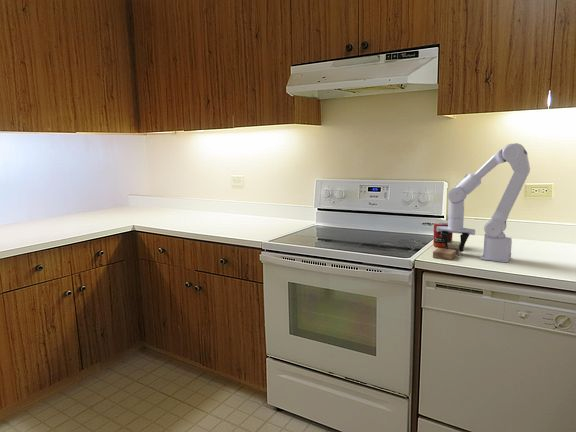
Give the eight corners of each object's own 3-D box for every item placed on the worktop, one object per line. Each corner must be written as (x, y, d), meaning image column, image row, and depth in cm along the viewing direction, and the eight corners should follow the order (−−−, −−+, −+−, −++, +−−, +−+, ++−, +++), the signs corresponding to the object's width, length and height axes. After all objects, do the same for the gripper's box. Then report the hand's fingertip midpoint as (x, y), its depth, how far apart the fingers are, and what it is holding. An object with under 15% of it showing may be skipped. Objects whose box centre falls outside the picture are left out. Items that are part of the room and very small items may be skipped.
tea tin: (461, 253, 170) (462, 241, 169) (458, 256, 166) (459, 244, 165) (450, 251, 173) (450, 240, 172) (446, 254, 169) (447, 242, 168)
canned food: (431, 247, 180) (432, 222, 178) (434, 243, 187) (435, 219, 185) (450, 249, 176) (451, 223, 175) (453, 245, 183) (454, 220, 182)
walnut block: (456, 256, 166) (456, 250, 165) (451, 260, 160) (451, 254, 160) (438, 253, 170) (438, 247, 169) (432, 257, 164) (433, 251, 164)
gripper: (477, 217, 166) (475, 250, 168) (440, 214, 174) (439, 246, 177) (473, 220, 160) (471, 254, 162) (435, 217, 169) (434, 249, 171)
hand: (454, 250), depth 169 cm, fingers open, 5 cm apart
